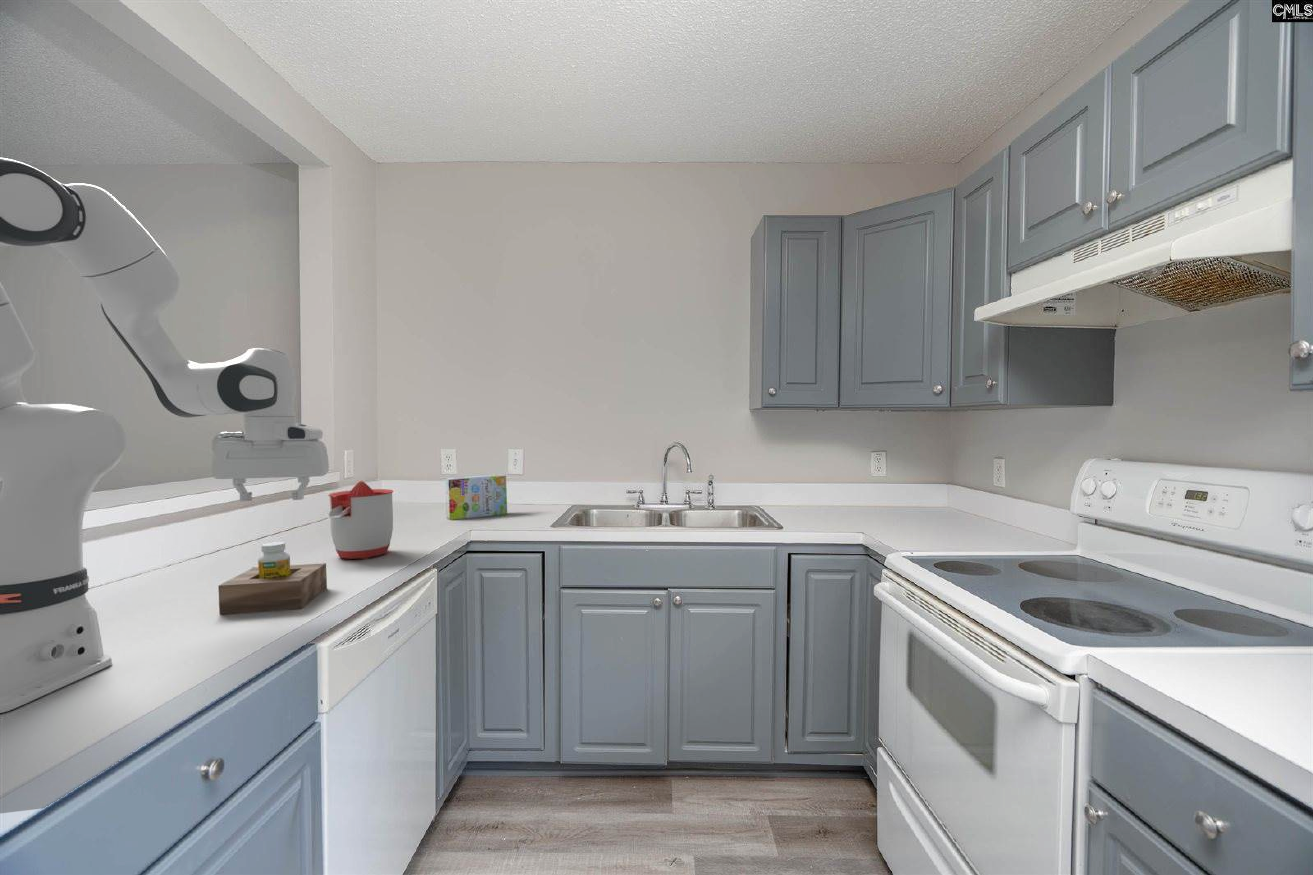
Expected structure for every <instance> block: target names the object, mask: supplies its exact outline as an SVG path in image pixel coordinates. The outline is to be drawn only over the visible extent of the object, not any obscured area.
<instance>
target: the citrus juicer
mask: <svg viewBox="0 0 1313 875" xmlns="http://www.w3.org/2000/svg"><path fill="white" fill-rule="evenodd" d="M393 492H394V490H393V489H385V488H371V487H370V485H368V484H367V483H366V482H364V481H362V480H360V481H359V482H357V483H356V484H355V485H354V487H353V488H352V489H351V490H344V491H337V492H331V493H329V494H328V497H329V513H328V517H330V521H329V522H330V533H331V534H330V535H331V539H332V542H333V544H334V547H335V551H336V554H337V555H338V557H339V558H341V559H351V560H352V559H354V560H355V559H360V560H367V559H369V558H373V557H376V556H377V557H378V556H380V555H384V554H386V553H387V552H388V550H389V548H390V545H391V540H392V537H393V530H394V511H393V510H394V506H393Z"/></svg>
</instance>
